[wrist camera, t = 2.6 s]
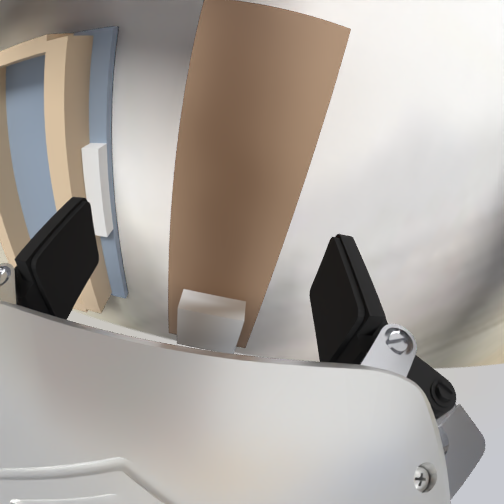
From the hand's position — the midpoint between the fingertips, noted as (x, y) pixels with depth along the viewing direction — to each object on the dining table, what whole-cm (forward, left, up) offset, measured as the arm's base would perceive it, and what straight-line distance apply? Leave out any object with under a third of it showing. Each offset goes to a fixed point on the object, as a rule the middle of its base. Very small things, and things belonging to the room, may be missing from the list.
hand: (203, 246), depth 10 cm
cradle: (+13, +2, -7) cm, 15 cm away
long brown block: (-1, -1, -7) cm, 7 cm away
